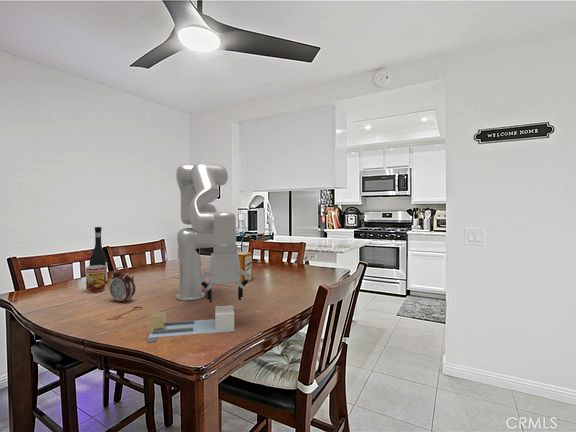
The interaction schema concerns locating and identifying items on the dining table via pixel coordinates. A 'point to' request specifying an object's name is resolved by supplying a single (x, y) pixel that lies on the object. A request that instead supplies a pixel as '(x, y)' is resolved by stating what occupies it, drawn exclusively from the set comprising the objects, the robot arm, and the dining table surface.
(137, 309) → the key
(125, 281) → the alarm clock
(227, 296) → the dining table surface
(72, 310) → the dining table surface
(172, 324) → the plate
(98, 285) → the canned food
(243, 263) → the baking soda box
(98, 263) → the wine bottle
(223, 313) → the white rectangular block
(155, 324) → the block
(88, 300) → the dining table surface
